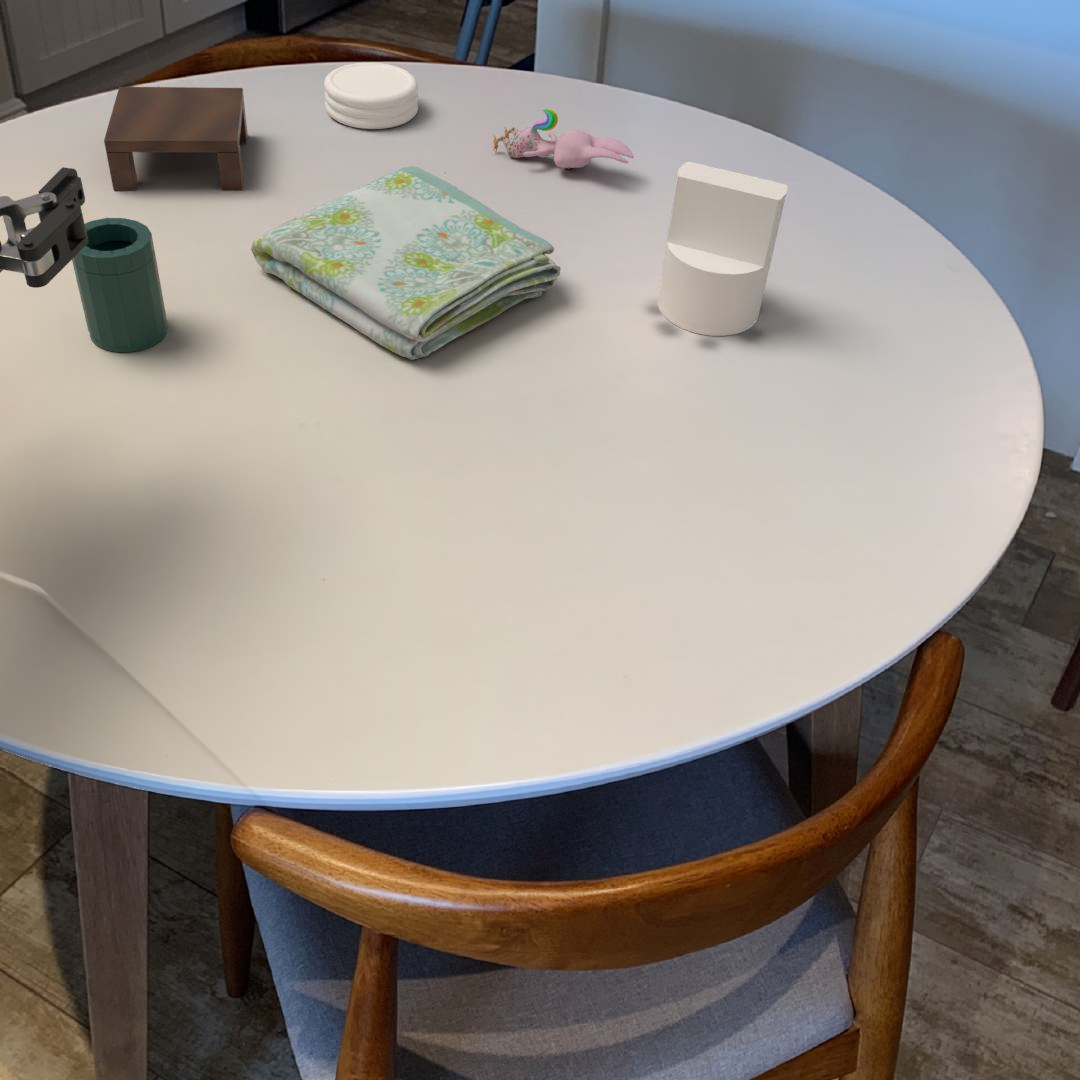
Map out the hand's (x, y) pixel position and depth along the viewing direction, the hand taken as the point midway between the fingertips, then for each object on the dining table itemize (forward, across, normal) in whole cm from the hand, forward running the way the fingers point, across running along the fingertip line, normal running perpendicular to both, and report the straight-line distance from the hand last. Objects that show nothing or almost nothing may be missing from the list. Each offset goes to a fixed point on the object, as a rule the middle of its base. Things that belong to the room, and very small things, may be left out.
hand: (8, 173), depth 74 cm
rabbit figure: (+50, -30, +19) cm, 62 cm away
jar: (+11, 0, +19) cm, 22 cm away
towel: (+24, -20, +19) cm, 37 cm away
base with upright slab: (+27, -46, +19) cm, 57 cm away
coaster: (+57, -8, +19) cm, 61 cm away
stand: (+41, +6, +19) cm, 45 cm away
